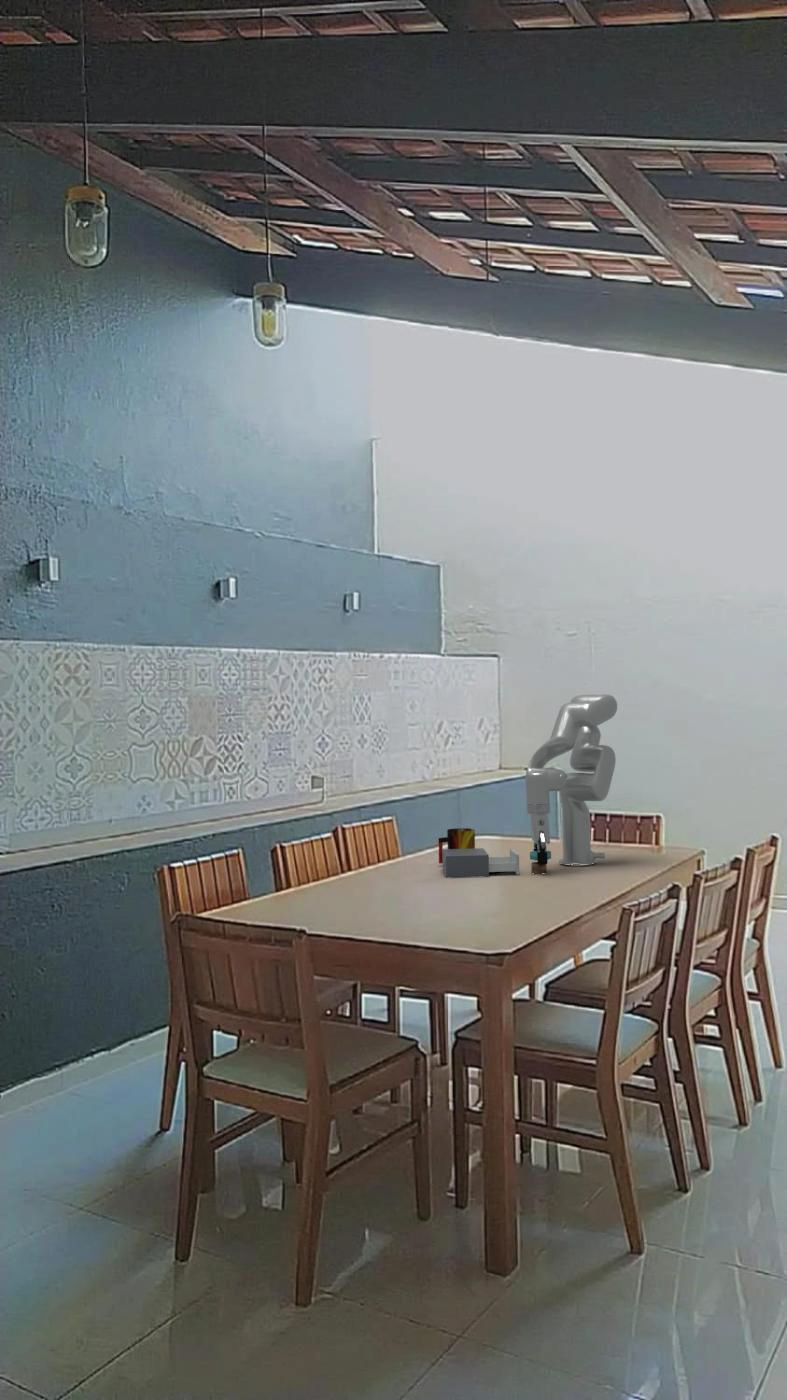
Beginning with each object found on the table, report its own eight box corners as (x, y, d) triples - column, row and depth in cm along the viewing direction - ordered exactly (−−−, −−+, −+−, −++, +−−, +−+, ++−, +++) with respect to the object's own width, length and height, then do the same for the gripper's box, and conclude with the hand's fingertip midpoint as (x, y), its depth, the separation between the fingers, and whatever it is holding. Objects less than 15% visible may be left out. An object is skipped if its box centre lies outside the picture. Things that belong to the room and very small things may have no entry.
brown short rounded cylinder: (545, 872, 386) (545, 861, 386) (547, 874, 381) (547, 863, 381) (530, 872, 386) (530, 862, 386) (532, 874, 381) (532, 864, 381)
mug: (438, 866, 403) (437, 832, 403) (454, 861, 416) (453, 827, 416) (463, 868, 399) (463, 833, 399) (479, 862, 411) (478, 828, 411)
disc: (549, 855, 388) (549, 849, 388) (552, 859, 381) (552, 853, 381) (528, 857, 388) (528, 851, 387) (531, 860, 381) (531, 854, 380)
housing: (483, 868, 396) (483, 848, 396) (489, 876, 380) (488, 855, 379) (442, 869, 396) (442, 849, 396) (446, 877, 379) (445, 856, 379)
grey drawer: (513, 867, 396) (512, 848, 396) (519, 874, 381) (518, 854, 381) (474, 868, 395) (473, 849, 395) (478, 875, 380) (478, 855, 380)
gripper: (554, 811, 375) (556, 866, 376) (545, 804, 392) (547, 857, 393) (530, 812, 375) (533, 867, 375) (523, 806, 392) (525, 858, 393)
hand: (540, 861), depth 384 cm, fingers closed on disc, 7 cm apart
